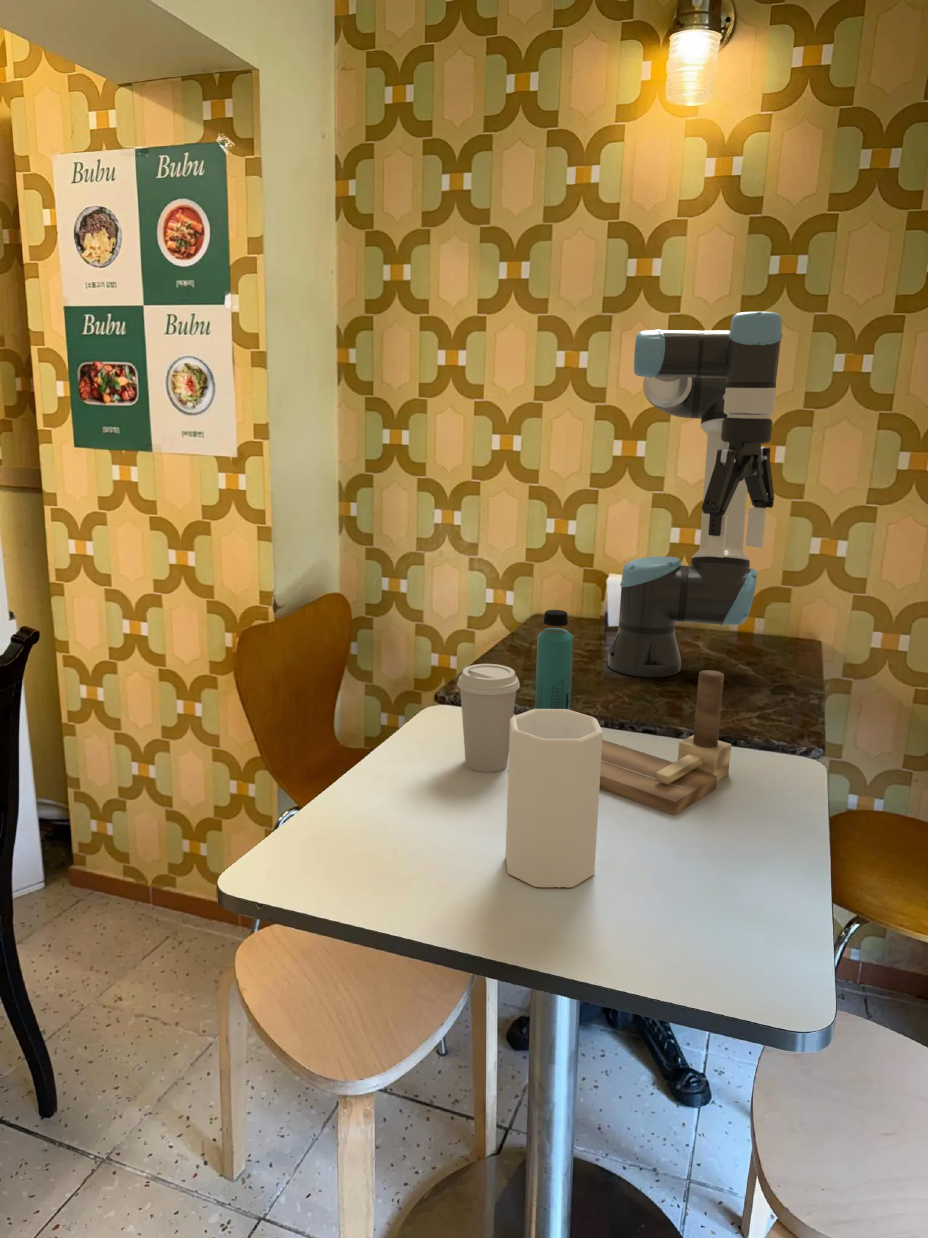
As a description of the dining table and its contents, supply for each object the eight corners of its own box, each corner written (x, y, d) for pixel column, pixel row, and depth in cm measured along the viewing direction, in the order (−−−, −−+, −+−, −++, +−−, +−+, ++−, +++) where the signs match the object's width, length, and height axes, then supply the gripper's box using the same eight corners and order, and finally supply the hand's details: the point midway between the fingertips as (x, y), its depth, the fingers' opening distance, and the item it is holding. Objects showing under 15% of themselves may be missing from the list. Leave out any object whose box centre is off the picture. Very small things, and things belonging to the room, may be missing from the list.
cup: (529, 898, 103) (535, 747, 98) (488, 853, 113) (492, 714, 108) (612, 879, 107) (622, 733, 103) (566, 837, 117) (572, 703, 113)
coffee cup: (446, 756, 142) (447, 665, 139) (500, 748, 146) (503, 659, 142) (470, 780, 134) (472, 684, 130) (527, 770, 138) (531, 677, 134)
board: (572, 741, 150) (572, 729, 149) (715, 788, 133) (717, 775, 132) (526, 761, 141) (527, 749, 140) (674, 815, 124) (675, 801, 123)
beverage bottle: (569, 729, 155) (574, 616, 150) (530, 726, 156) (535, 614, 151) (572, 717, 161) (577, 608, 156) (535, 713, 162) (539, 605, 157)
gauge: (692, 763, 141) (701, 666, 138) (728, 774, 138) (738, 674, 134) (641, 793, 131) (649, 688, 127) (678, 806, 127) (687, 698, 123)
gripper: (760, 415, 152) (748, 540, 157) (686, 416, 134) (675, 557, 139) (803, 416, 147) (790, 545, 152) (733, 418, 129) (720, 564, 134)
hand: (735, 551), depth 146 cm, fingers open, 13 cm apart
